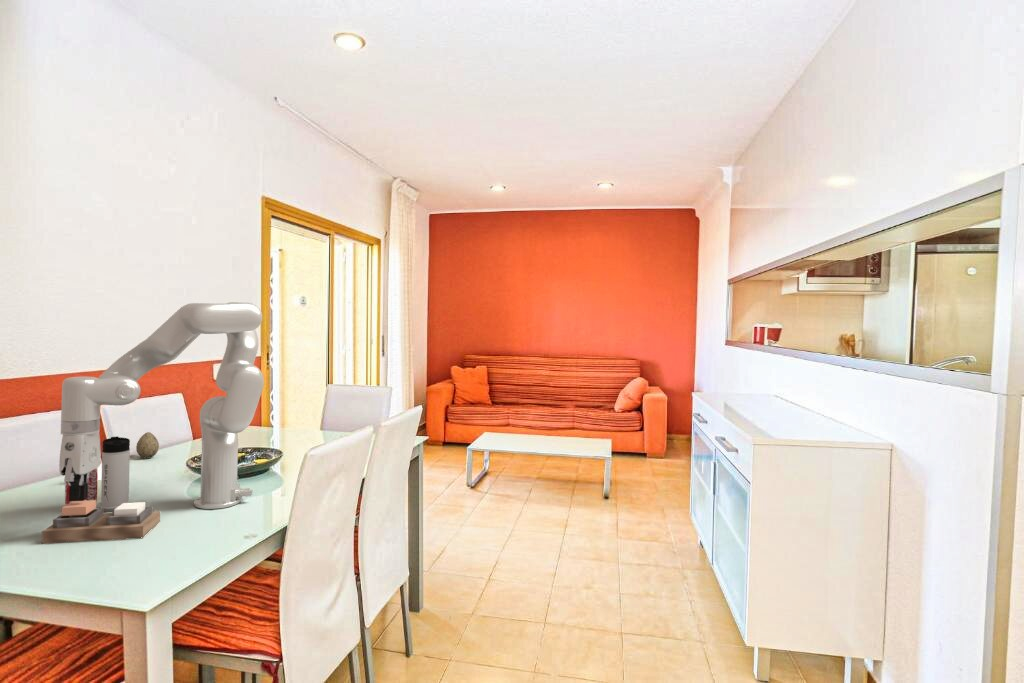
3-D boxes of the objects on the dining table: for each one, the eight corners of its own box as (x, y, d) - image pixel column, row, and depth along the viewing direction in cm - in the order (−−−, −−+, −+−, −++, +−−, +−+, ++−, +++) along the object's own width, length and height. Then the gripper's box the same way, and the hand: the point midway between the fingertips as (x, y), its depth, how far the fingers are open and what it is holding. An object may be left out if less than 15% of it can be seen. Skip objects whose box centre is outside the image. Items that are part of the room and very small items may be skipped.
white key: (145, 509, 139) (145, 502, 139) (136, 516, 134) (137, 508, 134) (123, 510, 137) (123, 503, 137) (113, 517, 133) (114, 509, 133)
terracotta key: (95, 507, 136) (96, 500, 136) (85, 514, 131) (86, 506, 131) (72, 508, 135) (73, 500, 134) (61, 515, 130) (61, 507, 130)
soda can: (78, 513, 146) (79, 470, 146) (58, 510, 147) (58, 467, 147) (103, 505, 153) (104, 463, 153) (83, 502, 154) (84, 461, 154)
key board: (160, 522, 142) (160, 503, 142) (142, 538, 132) (143, 518, 132) (67, 526, 137) (67, 507, 137) (41, 543, 126) (42, 522, 126)
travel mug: (126, 503, 155) (127, 435, 154) (130, 509, 150) (132, 439, 150) (99, 508, 151) (100, 437, 150) (102, 514, 146) (104, 442, 145)
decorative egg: (160, 458, 204) (161, 432, 204) (138, 461, 199) (139, 434, 199) (155, 455, 209) (156, 429, 209) (133, 457, 204) (134, 431, 204)
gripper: (82, 432, 126) (80, 509, 126) (112, 421, 140) (109, 490, 141) (44, 432, 124) (42, 510, 124) (78, 421, 138) (76, 491, 139)
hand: (78, 499), depth 132 cm, fingers closed
